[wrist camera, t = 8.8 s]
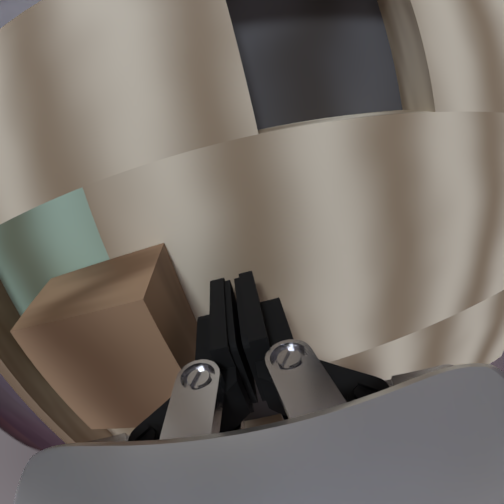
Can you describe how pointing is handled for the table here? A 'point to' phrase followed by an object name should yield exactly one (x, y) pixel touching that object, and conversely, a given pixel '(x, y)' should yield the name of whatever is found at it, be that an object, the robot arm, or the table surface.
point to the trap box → (263, 169)
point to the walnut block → (111, 337)
